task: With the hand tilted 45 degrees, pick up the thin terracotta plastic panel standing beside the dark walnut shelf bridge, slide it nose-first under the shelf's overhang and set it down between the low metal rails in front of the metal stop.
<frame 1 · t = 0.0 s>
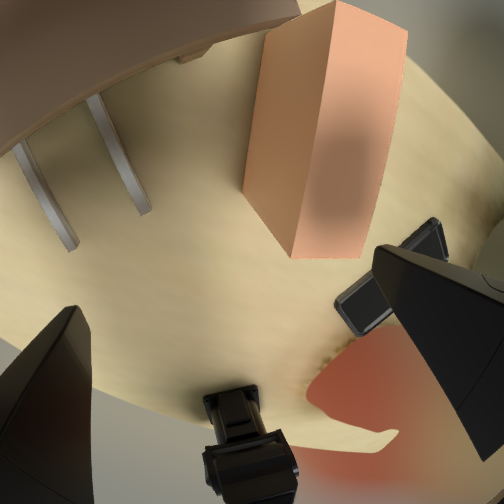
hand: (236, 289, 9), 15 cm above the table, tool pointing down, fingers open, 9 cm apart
phone: (393, 275, 33), on the table
terracotta panel: (279, 116, 21), on the table
walnut bridge: (78, 168, 19), on the table
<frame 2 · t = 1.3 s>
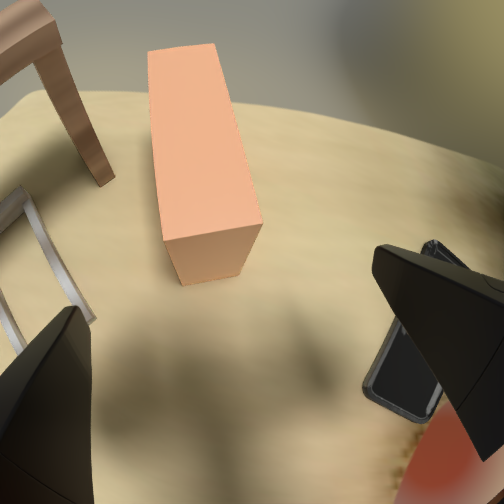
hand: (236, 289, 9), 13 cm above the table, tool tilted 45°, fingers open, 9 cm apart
phone: (425, 330, 23), on the table
terracotta panel: (195, 203, 23), on the table
walnut bridge: (32, 291, 19), on the table
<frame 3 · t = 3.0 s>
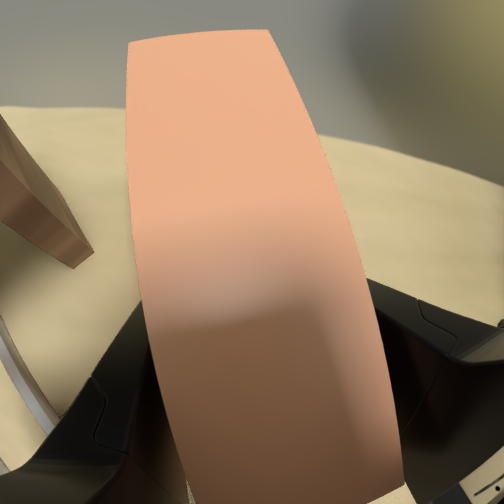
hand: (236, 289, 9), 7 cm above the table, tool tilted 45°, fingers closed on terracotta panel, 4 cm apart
phone: (487, 422, 15), on the table
terracotta panel: (221, 299, 15), on the table, touching gripper
walnut bridge: (2, 411, 11), on the table
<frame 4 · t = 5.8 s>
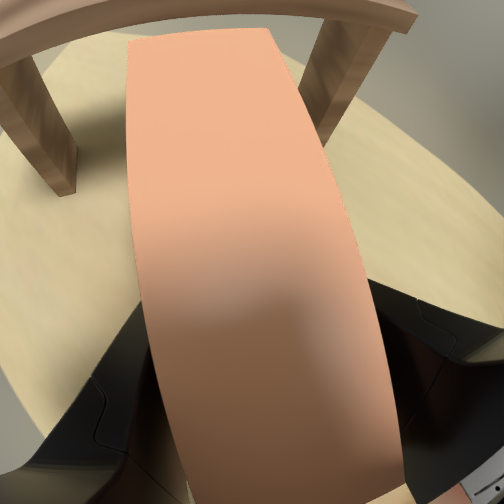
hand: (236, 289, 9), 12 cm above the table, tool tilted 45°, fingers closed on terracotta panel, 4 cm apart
terracotta panel: (221, 298, 15), point 6 cm above the table, touching gripper
walnut bridge: (197, 210, 22), on the table
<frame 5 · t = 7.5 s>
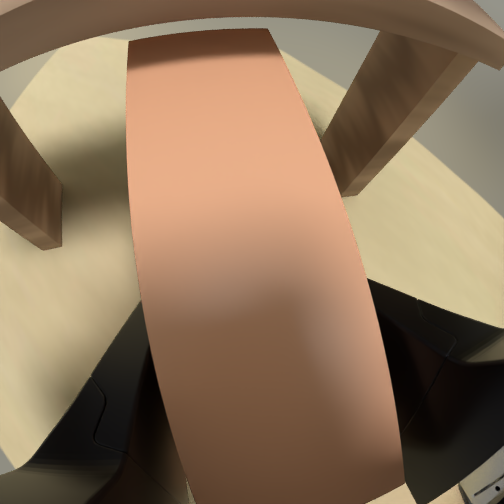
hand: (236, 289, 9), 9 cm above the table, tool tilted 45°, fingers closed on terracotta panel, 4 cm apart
terracotta panel: (221, 299, 15), point 3 cm above the table, touching gripper
walnut bridge: (213, 274, 18), on the table
when the fingers open (8 cm above the table, at t = 8.7 s): terracotta panel drops 1 cm, resting in walnut bridge.
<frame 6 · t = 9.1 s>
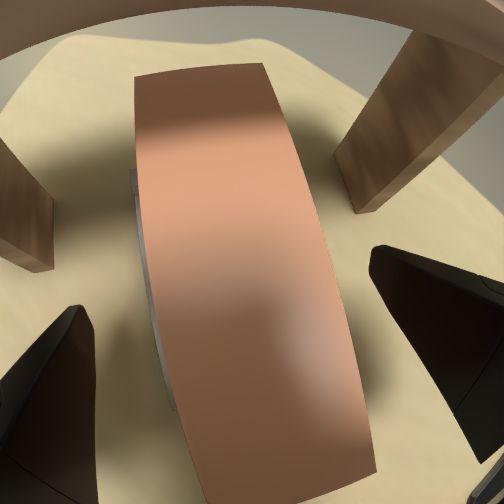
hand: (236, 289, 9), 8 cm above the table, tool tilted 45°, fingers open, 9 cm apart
terracotta panel: (220, 305, 16), resting in walnut bridge
walnut bridge: (220, 302, 16), on the table
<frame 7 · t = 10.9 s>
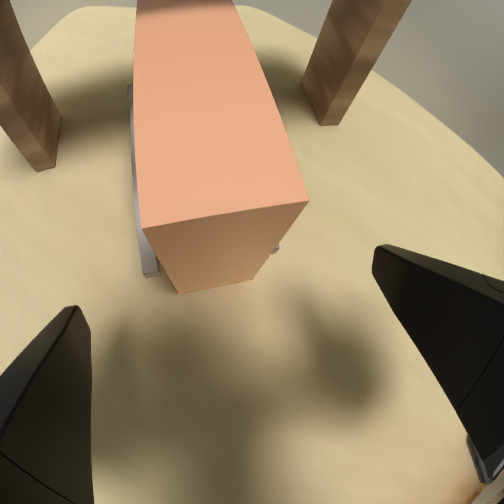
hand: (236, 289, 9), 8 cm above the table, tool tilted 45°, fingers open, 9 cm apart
terracotta panel: (196, 187, 18), resting in walnut bridge
walnut bridge: (196, 183, 18), on the table
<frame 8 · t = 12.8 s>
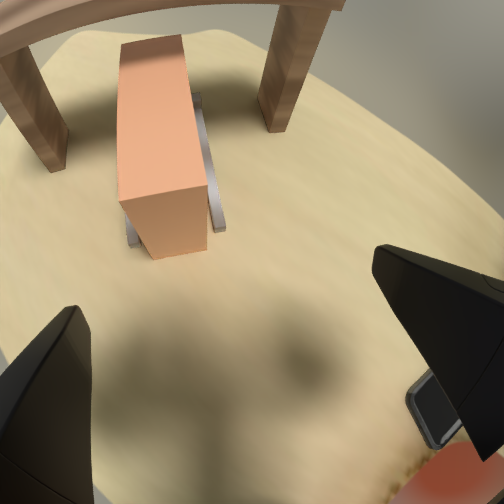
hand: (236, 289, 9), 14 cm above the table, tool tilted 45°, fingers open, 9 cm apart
phone: (463, 372, 23), on the table
terracotta panel: (169, 183, 24), resting in walnut bridge
walnut bridge: (169, 181, 24), on the table
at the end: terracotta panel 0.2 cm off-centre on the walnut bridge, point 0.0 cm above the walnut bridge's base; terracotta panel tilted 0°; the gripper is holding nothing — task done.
